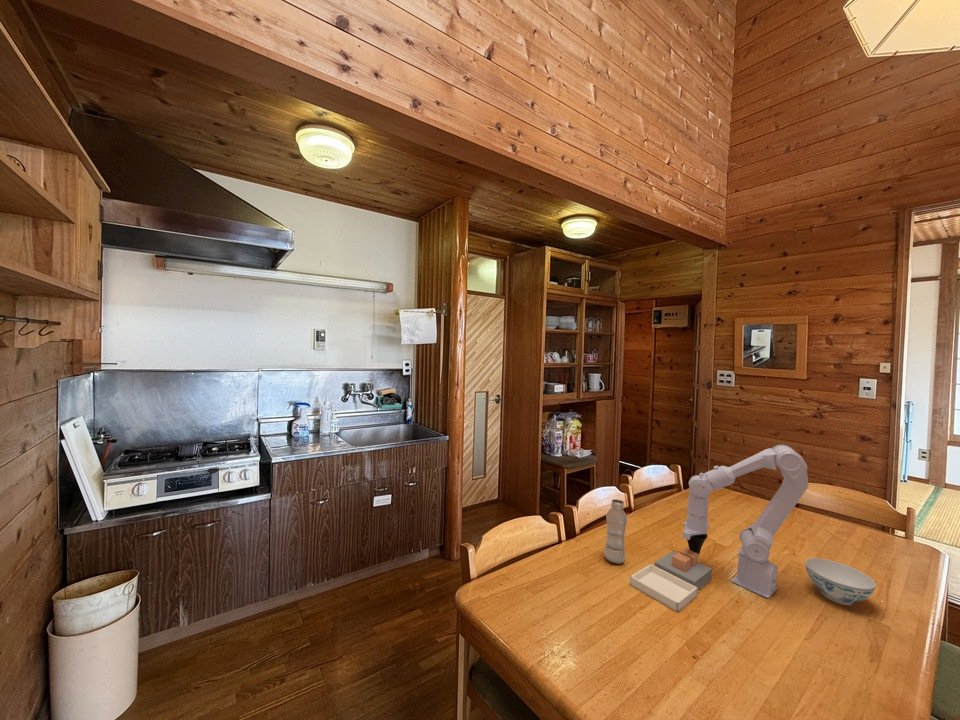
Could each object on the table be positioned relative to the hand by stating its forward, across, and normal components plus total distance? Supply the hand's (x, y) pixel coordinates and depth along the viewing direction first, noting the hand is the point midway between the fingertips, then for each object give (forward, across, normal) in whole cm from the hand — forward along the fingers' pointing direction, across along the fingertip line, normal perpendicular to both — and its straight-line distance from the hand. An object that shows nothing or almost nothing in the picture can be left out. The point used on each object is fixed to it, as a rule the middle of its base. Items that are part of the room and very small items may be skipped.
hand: (694, 554), depth 122 cm
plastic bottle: (+5, +19, -17) cm, 26 cm away
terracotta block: (+1, +9, 0) cm, 9 cm away
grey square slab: (+4, +8, 0) cm, 9 cm away
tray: (+4, +20, 0) cm, 21 cm away
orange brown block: (+1, +4, 0) cm, 4 cm away
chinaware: (+5, -22, +31) cm, 38 cm away
